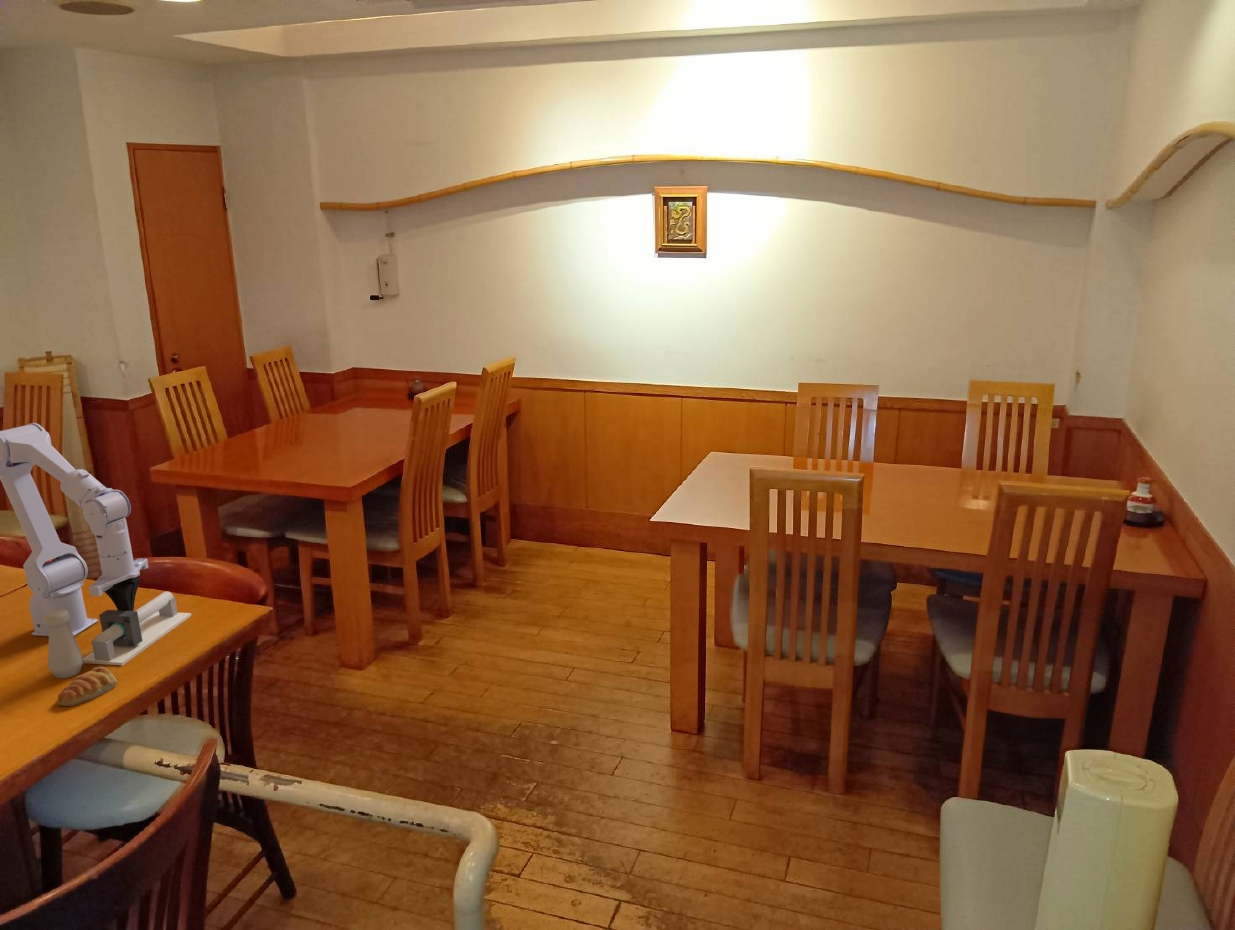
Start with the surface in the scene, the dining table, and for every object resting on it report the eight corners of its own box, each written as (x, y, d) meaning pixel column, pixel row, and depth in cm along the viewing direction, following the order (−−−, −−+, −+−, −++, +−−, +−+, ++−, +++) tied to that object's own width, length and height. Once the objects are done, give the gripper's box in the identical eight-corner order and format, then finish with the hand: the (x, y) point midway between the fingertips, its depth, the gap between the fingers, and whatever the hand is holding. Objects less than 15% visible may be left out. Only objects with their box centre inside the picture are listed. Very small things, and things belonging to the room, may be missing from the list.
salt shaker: (68, 682, 164) (55, 619, 160) (43, 679, 165) (29, 617, 161) (92, 667, 169) (80, 606, 166) (67, 664, 170) (54, 603, 167)
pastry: (76, 712, 154) (72, 693, 153) (48, 706, 156) (44, 687, 155) (121, 685, 163) (117, 667, 162) (94, 680, 165) (90, 662, 164)
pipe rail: (122, 665, 170) (117, 638, 168) (81, 662, 171) (75, 635, 169) (191, 615, 190) (187, 590, 189) (154, 613, 192) (149, 588, 190)
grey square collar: (134, 646, 175) (129, 616, 173) (104, 644, 176) (99, 614, 174) (142, 640, 177) (137, 611, 175) (113, 639, 178) (107, 609, 176)
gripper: (107, 566, 166) (120, 631, 169) (157, 539, 179) (167, 599, 183) (74, 565, 167) (87, 629, 170) (126, 538, 180) (137, 598, 184)
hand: (126, 614), depth 177 cm, fingers closed
